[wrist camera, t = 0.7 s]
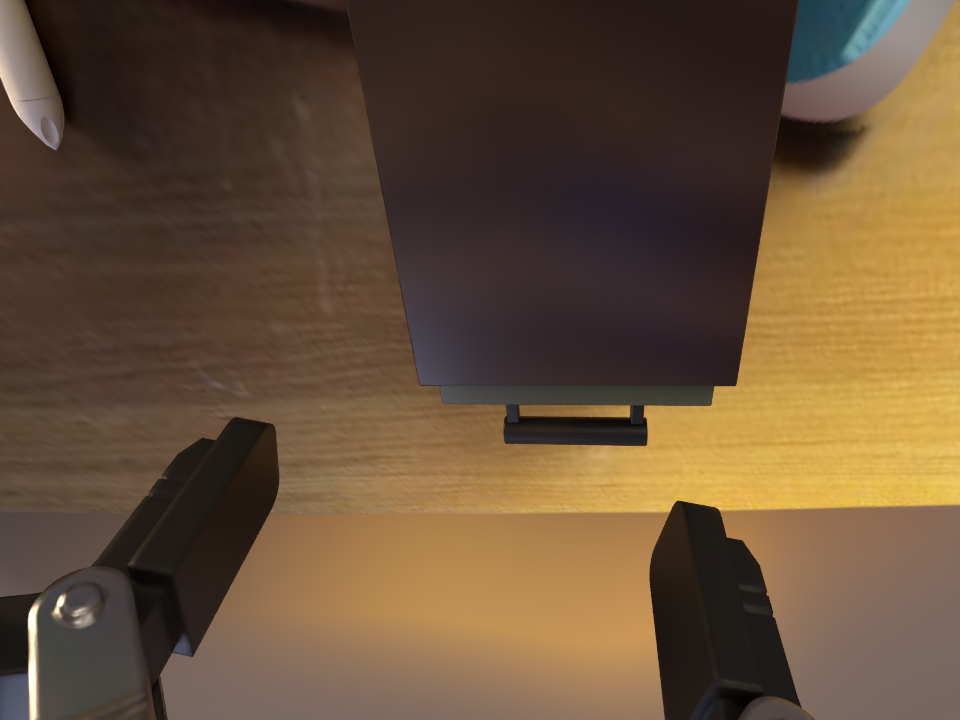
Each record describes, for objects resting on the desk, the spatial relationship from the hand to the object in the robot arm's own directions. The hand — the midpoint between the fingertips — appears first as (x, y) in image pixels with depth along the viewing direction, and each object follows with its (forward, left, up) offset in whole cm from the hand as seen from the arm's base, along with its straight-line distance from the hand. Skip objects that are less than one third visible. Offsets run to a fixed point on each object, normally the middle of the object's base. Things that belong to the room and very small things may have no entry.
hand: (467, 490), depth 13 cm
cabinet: (0, +2, -21) cm, 21 cm away
